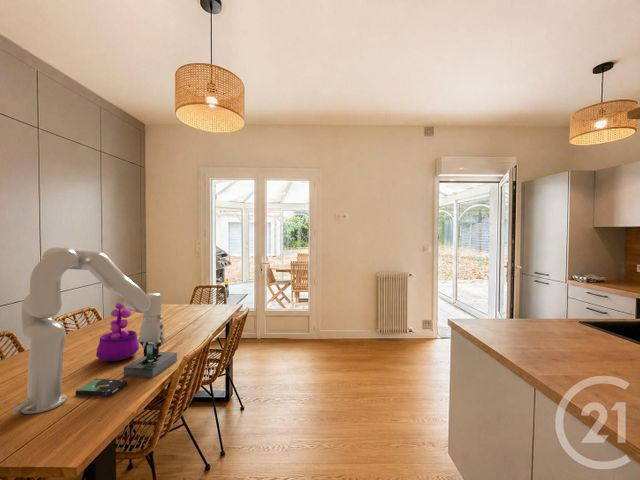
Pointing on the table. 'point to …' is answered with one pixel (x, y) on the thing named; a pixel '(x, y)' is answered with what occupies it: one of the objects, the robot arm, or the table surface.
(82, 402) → the table surface
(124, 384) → the disk drive
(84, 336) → the table surface
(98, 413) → the table surface
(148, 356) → the teal rounded piece
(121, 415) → the table surface
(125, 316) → the decorative plant
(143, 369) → the keyhole deck
